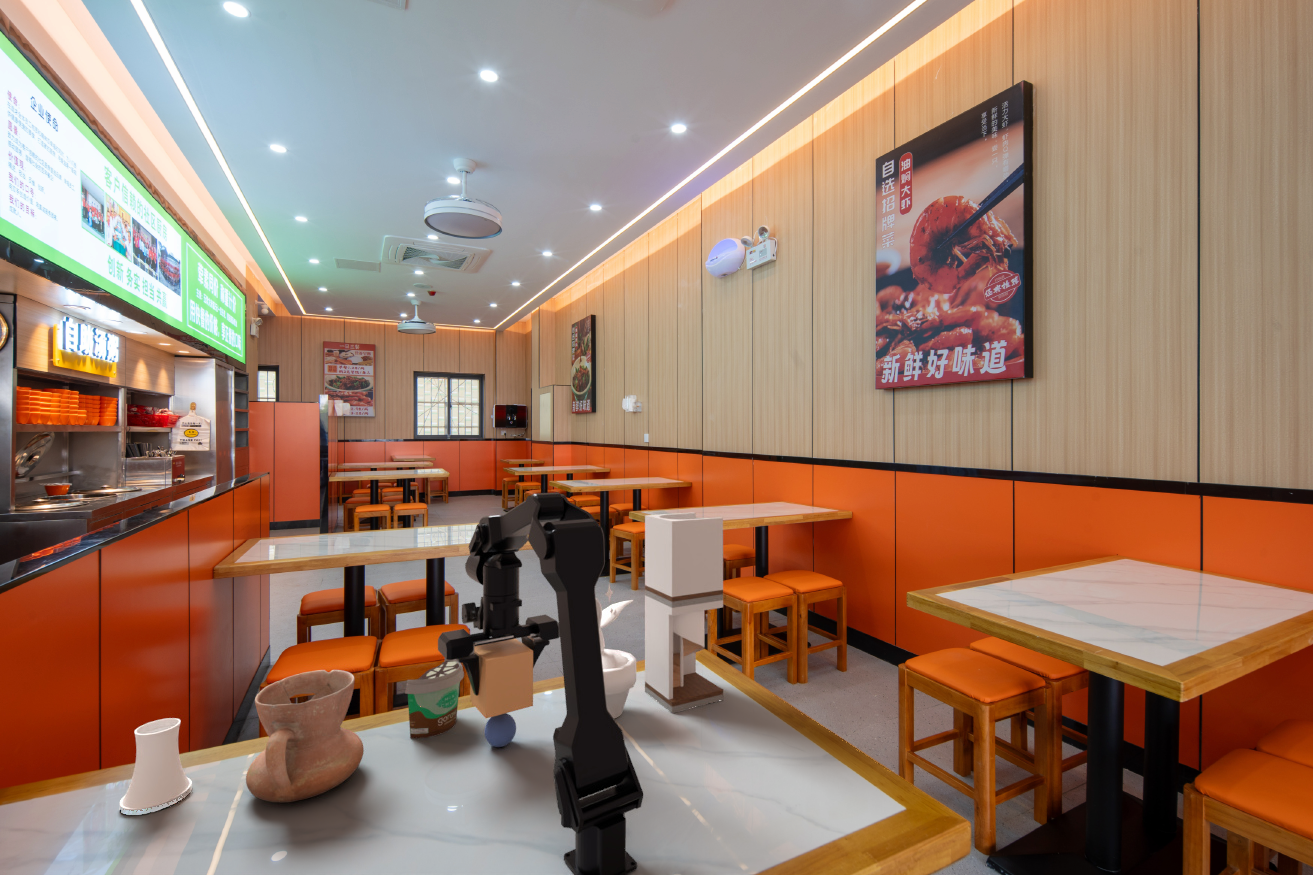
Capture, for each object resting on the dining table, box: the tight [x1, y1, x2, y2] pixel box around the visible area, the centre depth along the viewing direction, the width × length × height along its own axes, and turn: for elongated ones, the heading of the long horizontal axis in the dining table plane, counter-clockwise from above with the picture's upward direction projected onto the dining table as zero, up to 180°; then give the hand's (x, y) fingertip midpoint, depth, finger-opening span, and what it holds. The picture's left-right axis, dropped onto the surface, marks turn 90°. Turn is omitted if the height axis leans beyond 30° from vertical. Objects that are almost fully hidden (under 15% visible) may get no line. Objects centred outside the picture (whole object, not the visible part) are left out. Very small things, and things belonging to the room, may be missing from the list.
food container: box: [404, 657, 465, 739], centre depth 101 cm, size 12×6×10 cm, turn 168°
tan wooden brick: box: [469, 638, 534, 719], centre depth 94 cm, size 8×8×9 cm
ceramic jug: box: [245, 669, 365, 803], centre depth 83 cm, size 18×14×14 cm
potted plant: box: [596, 582, 637, 720], centre depth 106 cm, size 13×12×25 cm
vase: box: [119, 717, 193, 812], centre depth 80 cm, size 8×8×10 cm
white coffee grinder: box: [644, 512, 724, 714], centre depth 114 cm, size 11×11×35 cm
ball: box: [484, 713, 517, 748], centre depth 95 cm, size 5×5×5 cm
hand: (500, 688), depth 95 cm, fingers closed on tan wooden brick, 8 cm apart
